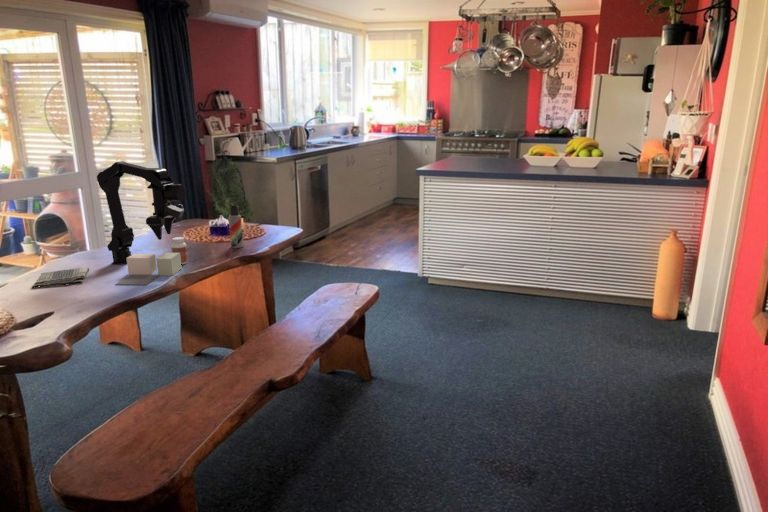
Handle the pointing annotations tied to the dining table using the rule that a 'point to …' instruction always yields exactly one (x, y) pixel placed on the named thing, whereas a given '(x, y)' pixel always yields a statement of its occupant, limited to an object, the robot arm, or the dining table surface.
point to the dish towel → (62, 277)
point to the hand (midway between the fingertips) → (164, 236)
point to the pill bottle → (180, 248)
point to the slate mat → (138, 280)
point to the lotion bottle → (235, 227)
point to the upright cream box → (141, 264)
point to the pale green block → (169, 264)
